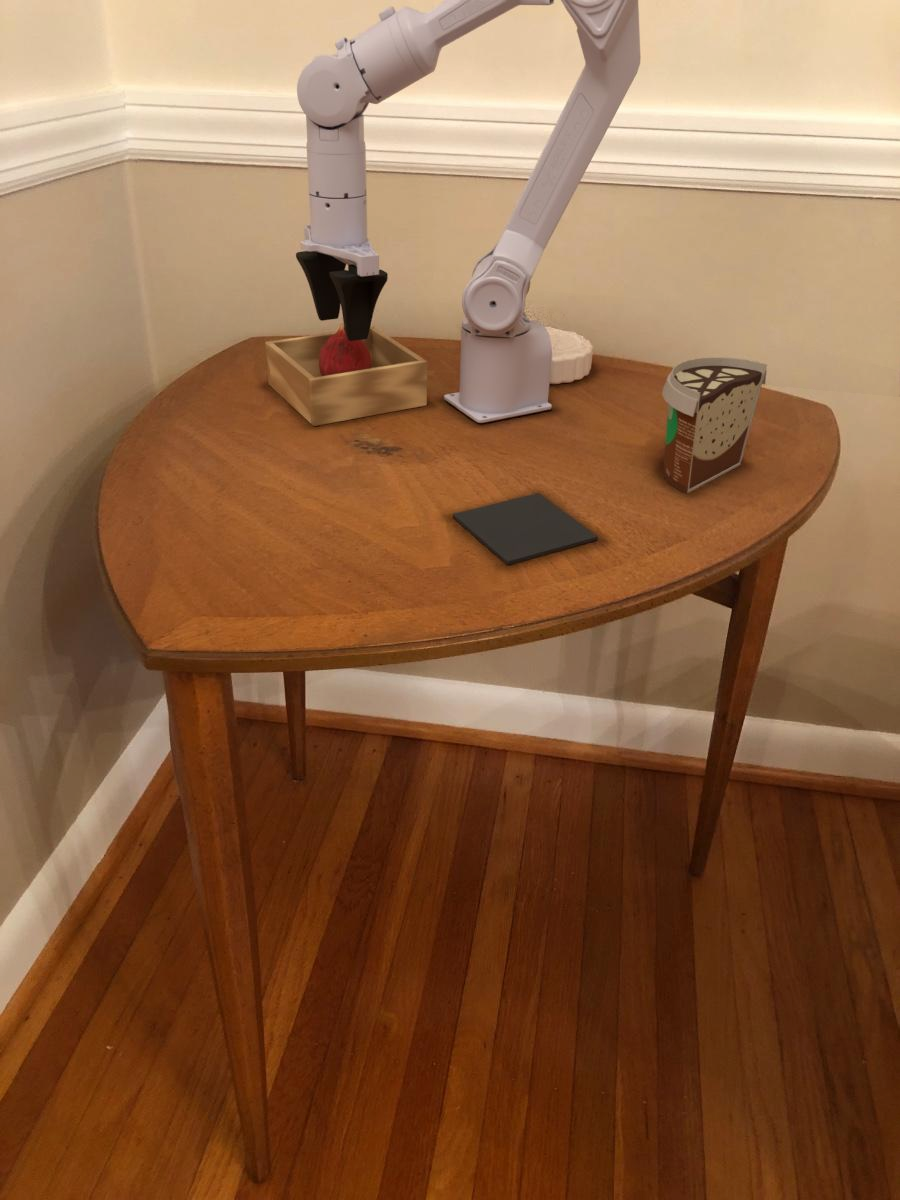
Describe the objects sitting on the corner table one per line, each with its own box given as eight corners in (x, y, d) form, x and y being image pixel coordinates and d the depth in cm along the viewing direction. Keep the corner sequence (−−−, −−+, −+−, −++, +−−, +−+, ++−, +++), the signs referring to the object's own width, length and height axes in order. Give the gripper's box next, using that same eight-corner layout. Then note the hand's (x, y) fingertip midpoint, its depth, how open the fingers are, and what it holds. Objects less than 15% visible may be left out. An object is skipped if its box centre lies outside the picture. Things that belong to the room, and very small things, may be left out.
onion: (363, 407, 103) (362, 334, 98) (313, 401, 104) (309, 329, 99) (377, 388, 108) (376, 318, 103) (329, 383, 108) (326, 314, 104)
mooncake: (609, 367, 115) (613, 339, 113) (551, 393, 108) (554, 362, 106) (531, 345, 122) (533, 317, 120) (472, 367, 114) (473, 338, 112)
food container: (695, 441, 97) (713, 346, 92) (748, 460, 94) (769, 362, 88) (623, 476, 90) (638, 375, 84) (678, 498, 86) (696, 394, 81)
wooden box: (374, 367, 113) (373, 326, 111) (427, 405, 104) (427, 361, 101) (268, 384, 108) (264, 341, 105) (313, 426, 98) (310, 380, 95)
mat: (538, 496, 86) (538, 492, 86) (597, 540, 79) (598, 536, 79) (452, 517, 82) (452, 513, 82) (507, 565, 76) (507, 561, 75)
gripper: (273, 183, 97) (283, 314, 105) (329, 210, 87) (335, 354, 94) (336, 179, 100) (341, 307, 108) (398, 204, 90) (398, 344, 97)
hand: (342, 328), depth 101 cm, fingers open, 7 cm apart
